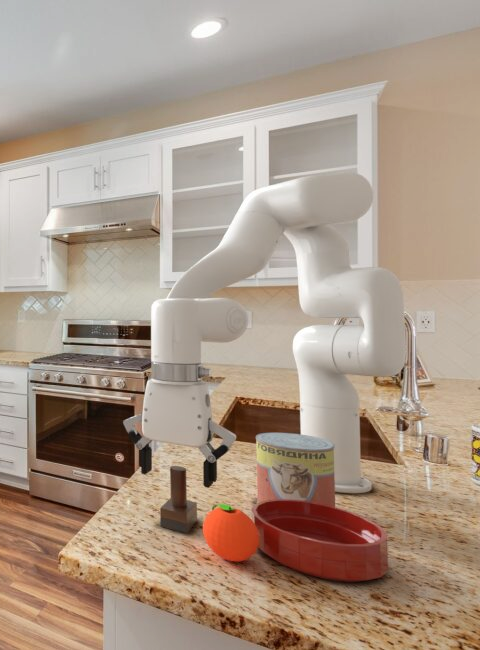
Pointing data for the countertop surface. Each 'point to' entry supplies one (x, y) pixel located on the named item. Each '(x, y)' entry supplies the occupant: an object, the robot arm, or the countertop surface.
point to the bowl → (321, 539)
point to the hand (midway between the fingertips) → (176, 478)
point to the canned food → (295, 468)
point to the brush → (178, 504)
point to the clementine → (230, 533)
